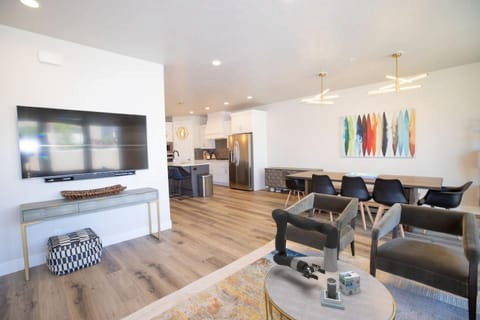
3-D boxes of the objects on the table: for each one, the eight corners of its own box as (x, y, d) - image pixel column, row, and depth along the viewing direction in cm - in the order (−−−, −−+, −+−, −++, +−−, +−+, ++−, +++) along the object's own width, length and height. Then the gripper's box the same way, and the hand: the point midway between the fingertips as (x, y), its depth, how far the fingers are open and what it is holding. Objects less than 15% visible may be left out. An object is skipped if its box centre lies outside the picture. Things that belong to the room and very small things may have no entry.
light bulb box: (345, 295, 136) (345, 278, 135) (338, 288, 142) (338, 272, 142) (360, 292, 138) (360, 276, 137) (353, 286, 145) (353, 270, 144)
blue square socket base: (321, 292, 139) (321, 287, 139) (342, 296, 135) (341, 290, 135) (321, 305, 128) (321, 299, 128) (344, 310, 124) (344, 304, 124)
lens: (327, 294, 135) (326, 277, 134) (336, 296, 133) (335, 278, 133) (327, 300, 130) (326, 282, 129) (337, 302, 128) (336, 283, 128)
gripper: (292, 264, 144) (315, 274, 132) (305, 256, 153) (327, 265, 141) (293, 275, 144) (315, 286, 132) (305, 266, 154) (327, 276, 141)
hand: (321, 275), depth 137 cm, fingers open, 8 cm apart
